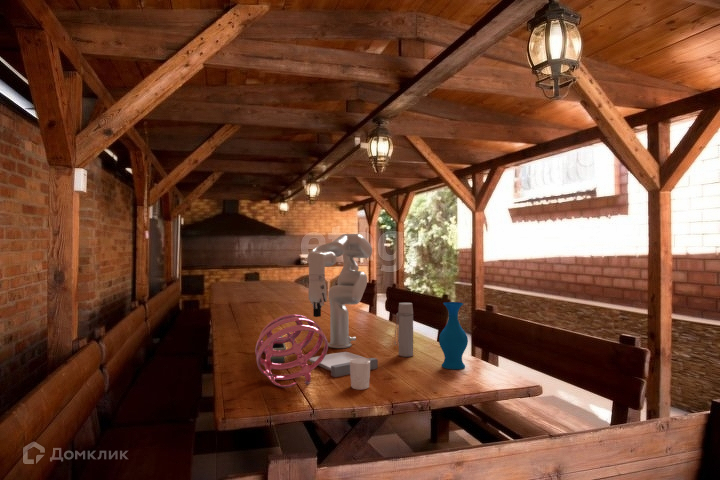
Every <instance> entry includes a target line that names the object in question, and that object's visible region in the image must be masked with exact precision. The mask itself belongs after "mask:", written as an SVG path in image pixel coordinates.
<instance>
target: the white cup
mask: <svg viewBox="0 0 720 480" xmlns="http://www.w3.org/2000/svg"><path fill="white" fill-rule="evenodd" d="M365 358H366V357H365ZM365 358H355V359H351V360H350V374H349V375H350V376H349V377H350V385H351V386H350V387H351V388H352V389H354V390H357V391H359V390H360V391H361V390H362V391H363V390H366V389H369V388H370V378H371V377H370V375H371V370H370V360H369V358H368V359H365Z"/></svg>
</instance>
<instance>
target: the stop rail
mask: <svg viewBox="0 0 720 480" xmlns="http://www.w3.org/2000/svg"><path fill="white" fill-rule="evenodd" d="M368 359H369V360H370V371H371V370H376V369H377V370H378V364H379V363H378V358H375V357H370V358H368ZM348 375H350V362H348V363H343V364H338V365H333V366H331V371H330V376H331V377H334V378H338V377H344V376H348Z"/></svg>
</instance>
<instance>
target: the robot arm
mask: <svg viewBox="0 0 720 480" xmlns="http://www.w3.org/2000/svg"><path fill="white" fill-rule="evenodd" d="M372 254H373V247H372V245H371V243H370V242H369V241H368V239H366V237H365V236H364V235H362V234H359V233H343V234H341V235H339V236H338V237H337V238H335V239H334V240H332V241H331V242H328V243H324V244H321V245H318V246H315V247H314V248H313V249H311V250H310V251H309V253H308V254H307V256H306V257H307V258H306V259H307V261H306V262H307V263H308V293H307V295H308V296H307V297H308V301H309V302H310V304H311V305H312V309H313V310H312V312H313V313H312V314H313V315H312V316H313V318H319V317H321V316H322V306H325V303H326V302H328V301H329V312H330V315H329V316H330V317H329V318H330V328H329V329H330V333H329V334H330V336H329V337H330V341H329V342H328V348H331V349H332V348H333V349H346V348H350V347H352V345H353V344H352V343H351V342H352V341H357V337H356V336H352V337H351V336H350V335H349V327H350V326H349V324H350V323H349V321H350V320H349V310H348V308H347V306H346V305H358V304H359V303H360V302H361V300H362V298H363V295H364V293H365V290H366V288H367V284H368V276H367V274H366V272H365V271H362V270H359V269H360V268H359V264H358V262H357V261H356V260H355V259H368V258H370V257H371V256H372ZM341 256H342V260H343V266H342V268H341V271H340V272H339V275H338V276H337V277H338V279H337V284H336V285H333V286H331V287H330V288H329V290H328V291H327V284H326V280H325V279H326V275H325V274H326V271H325V269H326V267H333V266H334V265H335V264H336V263H337V258H339V257H341ZM327 292H328V293H327ZM327 294H328V295H327Z"/></svg>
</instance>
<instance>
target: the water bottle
mask: <svg viewBox="0 0 720 480" xmlns="http://www.w3.org/2000/svg"><path fill="white" fill-rule="evenodd" d="M413 307H414V306H413V303H412V302H398V309H397V310H398V312H397V313H395V314H396V322H395V327H396V329H395V332H394V337H397V336H396V335H397V330H398V342H397V343H396V341H394V344H395V346H397V345H398V356H399V357H403V358H410V357H413V356H414V308H413Z"/></svg>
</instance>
